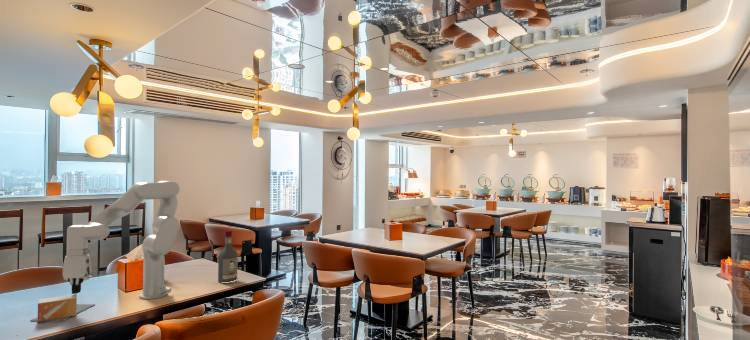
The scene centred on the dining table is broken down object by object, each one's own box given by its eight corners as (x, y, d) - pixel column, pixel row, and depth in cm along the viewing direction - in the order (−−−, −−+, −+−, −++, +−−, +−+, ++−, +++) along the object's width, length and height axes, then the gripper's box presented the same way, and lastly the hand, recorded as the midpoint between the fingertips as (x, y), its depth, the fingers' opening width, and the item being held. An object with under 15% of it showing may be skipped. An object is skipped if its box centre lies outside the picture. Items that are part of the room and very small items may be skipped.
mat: (94, 305, 182) (94, 304, 182) (61, 321, 162) (61, 320, 162) (67, 305, 181) (67, 304, 181) (30, 321, 161) (30, 320, 161)
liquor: (216, 281, 223) (217, 230, 224) (231, 278, 230) (232, 229, 231) (224, 284, 217) (225, 232, 218) (238, 281, 224) (239, 230, 225)
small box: (76, 315, 167) (37, 322, 159) (76, 311, 172) (38, 317, 164) (76, 297, 167) (37, 303, 159) (76, 293, 172) (38, 299, 164)
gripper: (99, 250, 176) (98, 290, 176) (66, 250, 175) (66, 290, 175) (87, 254, 168) (86, 295, 168) (53, 254, 168) (52, 295, 168)
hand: (76, 292), depth 172 cm, fingers closed
